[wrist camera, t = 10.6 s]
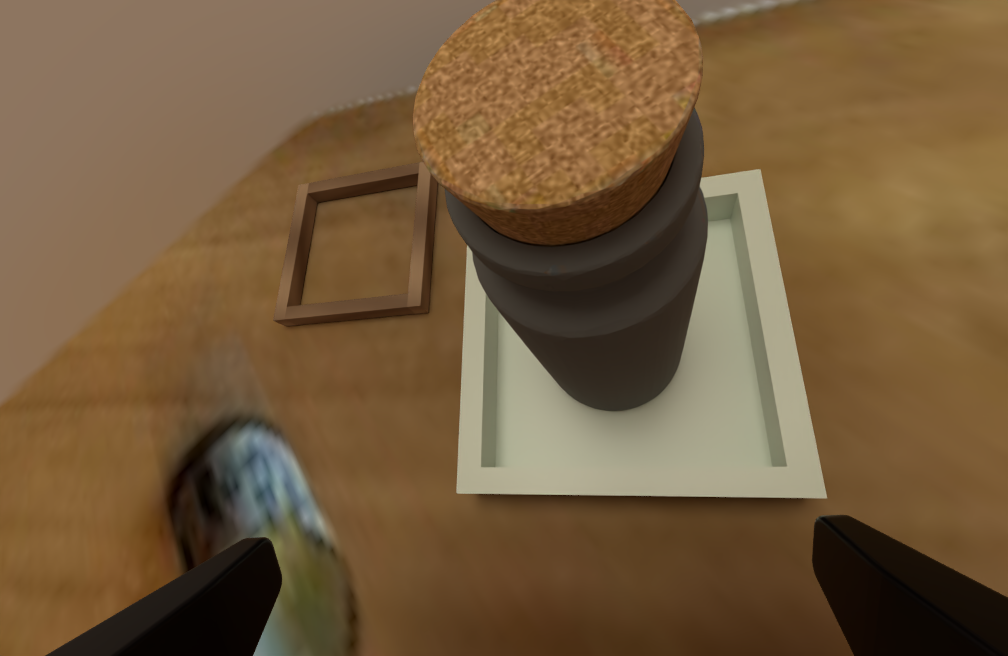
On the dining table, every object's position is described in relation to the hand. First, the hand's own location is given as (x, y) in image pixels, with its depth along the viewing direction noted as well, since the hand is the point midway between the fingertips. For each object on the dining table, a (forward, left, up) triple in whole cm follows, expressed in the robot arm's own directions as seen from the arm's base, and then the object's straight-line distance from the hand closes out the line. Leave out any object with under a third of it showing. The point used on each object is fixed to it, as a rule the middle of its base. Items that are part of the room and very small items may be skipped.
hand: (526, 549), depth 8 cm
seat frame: (+14, +13, -13) cm, 23 cm away
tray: (+7, -1, -13) cm, 15 cm away
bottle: (+7, -1, -13) cm, 14 cm away
